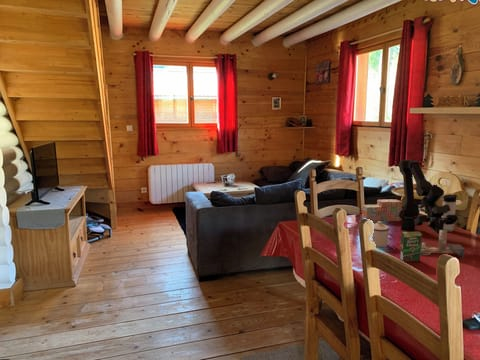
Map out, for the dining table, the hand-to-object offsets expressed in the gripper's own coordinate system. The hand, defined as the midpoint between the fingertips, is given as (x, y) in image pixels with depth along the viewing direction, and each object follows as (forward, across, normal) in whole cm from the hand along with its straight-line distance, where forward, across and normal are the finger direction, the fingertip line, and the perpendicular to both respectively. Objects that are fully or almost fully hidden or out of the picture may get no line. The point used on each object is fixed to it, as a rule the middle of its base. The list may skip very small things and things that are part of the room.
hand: (442, 236), depth 170 cm
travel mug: (-16, +21, +28) cm, 39 cm away
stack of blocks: (-32, -7, +43) cm, 54 cm away
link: (+6, -3, +4) cm, 8 cm away
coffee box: (+12, -19, -1) cm, 23 cm away
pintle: (+6, -9, +5) cm, 12 cm away
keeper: (+9, +4, +3) cm, 10 cm away
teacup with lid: (-3, -26, +14) cm, 30 cm away
